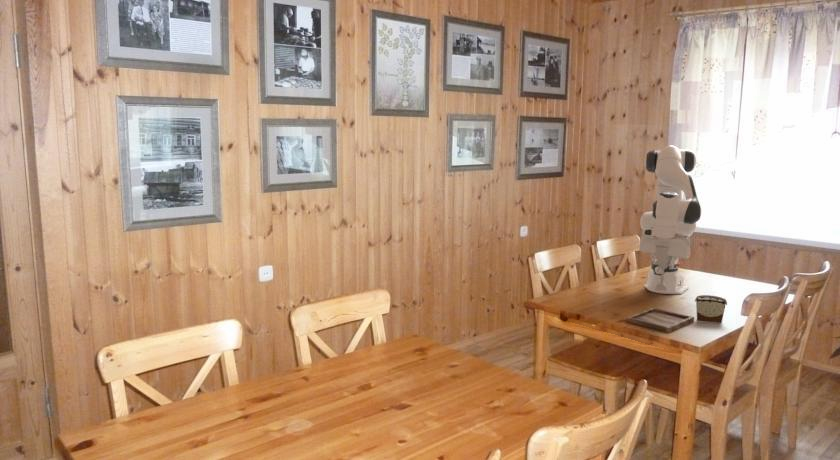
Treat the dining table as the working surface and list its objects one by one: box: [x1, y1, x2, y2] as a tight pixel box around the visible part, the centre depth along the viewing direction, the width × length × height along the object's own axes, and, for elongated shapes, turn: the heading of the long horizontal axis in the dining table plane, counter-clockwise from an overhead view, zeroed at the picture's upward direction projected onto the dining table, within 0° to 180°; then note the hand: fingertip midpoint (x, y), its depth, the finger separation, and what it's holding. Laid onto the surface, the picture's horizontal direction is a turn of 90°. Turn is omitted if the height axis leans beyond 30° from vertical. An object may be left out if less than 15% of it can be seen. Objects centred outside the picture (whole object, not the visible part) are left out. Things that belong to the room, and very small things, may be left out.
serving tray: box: [626, 307, 695, 334], centre depth 258 cm, size 22×18×2 cm
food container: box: [694, 294, 728, 324], centre depth 260 cm, size 12×6×10 cm, turn 71°
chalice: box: [655, 246, 672, 291], centre depth 255 cm, size 7×7×18 cm
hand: (663, 265), depth 254 cm, fingers closed on chalice, 5 cm apart
